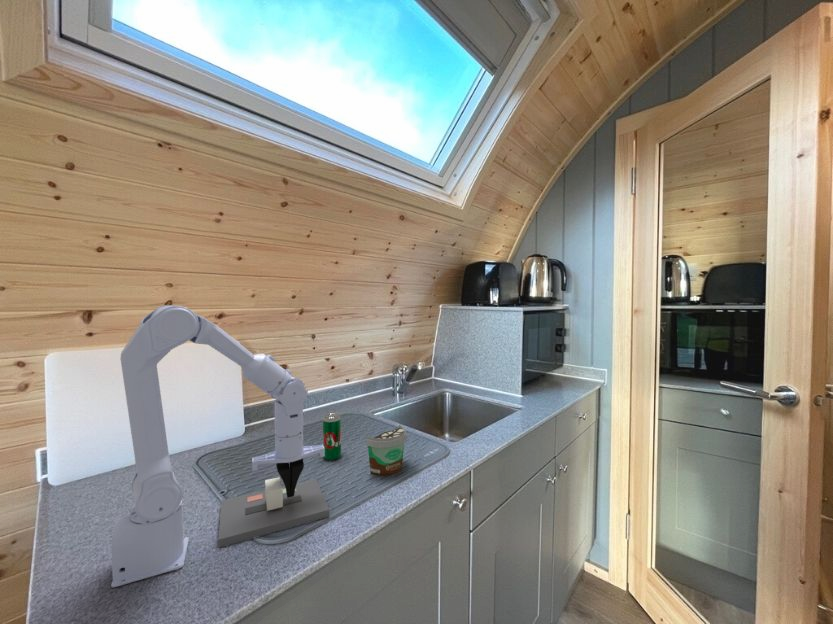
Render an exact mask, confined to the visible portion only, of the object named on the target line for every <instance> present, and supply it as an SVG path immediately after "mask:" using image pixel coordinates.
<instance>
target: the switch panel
mask: <svg viewBox="0 0 833 624" xmlns="http://www.w3.org/2000/svg"><path fill="white" fill-rule="evenodd" d="M282 488H283V507H281V508H277V509H273V510H269V511H267V506H266V496H265V489H264V490H260V491H256V492H251V493H247V494H243V495H238V496H235V497H230V498H226V499H222V500H221V502H220V504H221V505H220V512H219V513H220V515H219V527H218V538H217V539H218V540H217V544H218V545H217V546H218V548H222V547H226V546H229V545H234V544H237V543H240V542H245V541H247V540H251V539H254V537H255V538H258V537H257V536H259V537H262V536H265V535H264V534H266V535H269V534H268V533H270V534H272V532H273V533H276V531H277V532H280V531H283V529H284V530H287V529H290V527H291V528H294V527H293V526H295V527H297V525H298V526H301V524H302V525H305V524H309V523H312V522H315V521H319V519H320V520H322V519H326V518H330V509H329V505H328V504H327V501H326V499H325V497H324V495H323V492H322V490H321V487H320V485H319V482H318V481H317V478H313V479H309V480H304V481H300V482H297V484H296V488H295V493H294V496H293V497H289V498H287V494H286V488H285V485H282ZM308 522H309V523H308ZM279 530H280V531H279ZM261 535H262V536H261Z"/></svg>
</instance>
